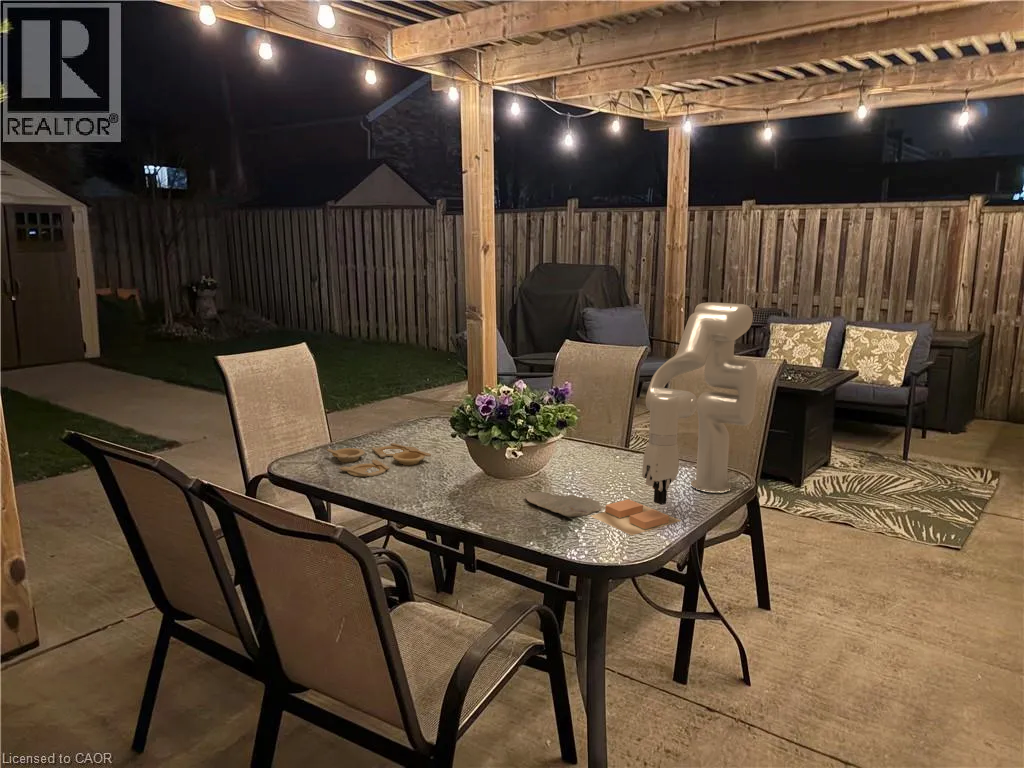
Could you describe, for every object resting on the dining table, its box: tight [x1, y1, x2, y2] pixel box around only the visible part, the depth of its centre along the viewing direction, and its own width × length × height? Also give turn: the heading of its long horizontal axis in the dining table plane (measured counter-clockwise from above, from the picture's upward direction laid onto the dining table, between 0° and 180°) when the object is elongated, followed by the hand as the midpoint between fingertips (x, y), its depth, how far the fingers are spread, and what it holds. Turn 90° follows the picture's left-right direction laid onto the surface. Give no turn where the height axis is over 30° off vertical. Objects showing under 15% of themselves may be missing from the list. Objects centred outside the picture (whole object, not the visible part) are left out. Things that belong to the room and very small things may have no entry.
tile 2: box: [629, 508, 670, 530], centre depth 197 cm, size 2×6×9 cm
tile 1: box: [604, 498, 644, 519], centre depth 206 cm, size 2×6×9 cm
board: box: [590, 502, 682, 536], centre depth 202 cm, size 19×17×1 cm
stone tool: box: [524, 491, 605, 518], centre depth 213 cm, size 20×3×25 cm
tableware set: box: [326, 442, 432, 478], centre depth 258 cm, size 35×29×4 cm
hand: (659, 502), depth 199 cm, fingers closed
